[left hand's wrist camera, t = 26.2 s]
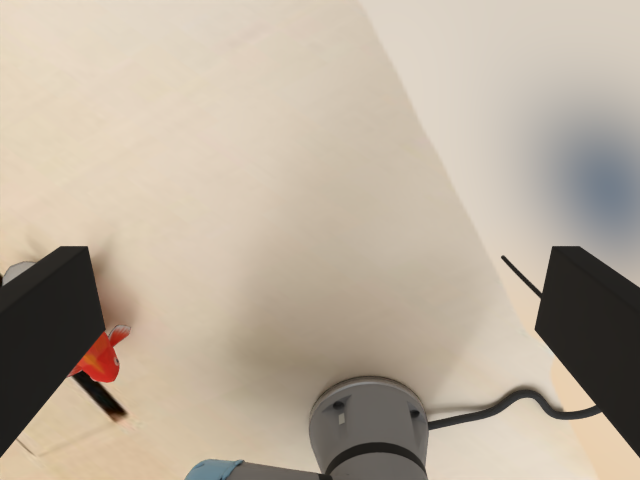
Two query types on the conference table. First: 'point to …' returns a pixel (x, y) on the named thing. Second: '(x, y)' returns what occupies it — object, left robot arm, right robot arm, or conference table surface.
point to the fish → (101, 354)
